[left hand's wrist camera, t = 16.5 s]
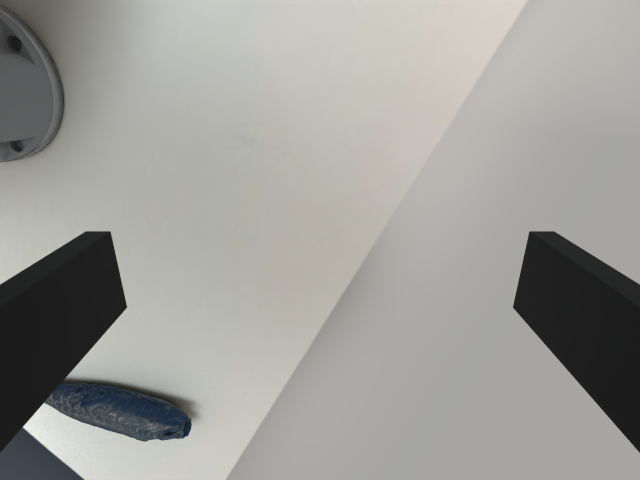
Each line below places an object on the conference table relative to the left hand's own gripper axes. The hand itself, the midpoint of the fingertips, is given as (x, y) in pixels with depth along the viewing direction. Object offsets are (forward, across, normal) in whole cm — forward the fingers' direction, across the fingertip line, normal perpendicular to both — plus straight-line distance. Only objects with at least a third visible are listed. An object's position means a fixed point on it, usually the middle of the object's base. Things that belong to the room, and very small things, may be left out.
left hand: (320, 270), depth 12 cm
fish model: (+31, +28, +35) cm, 54 cm away
